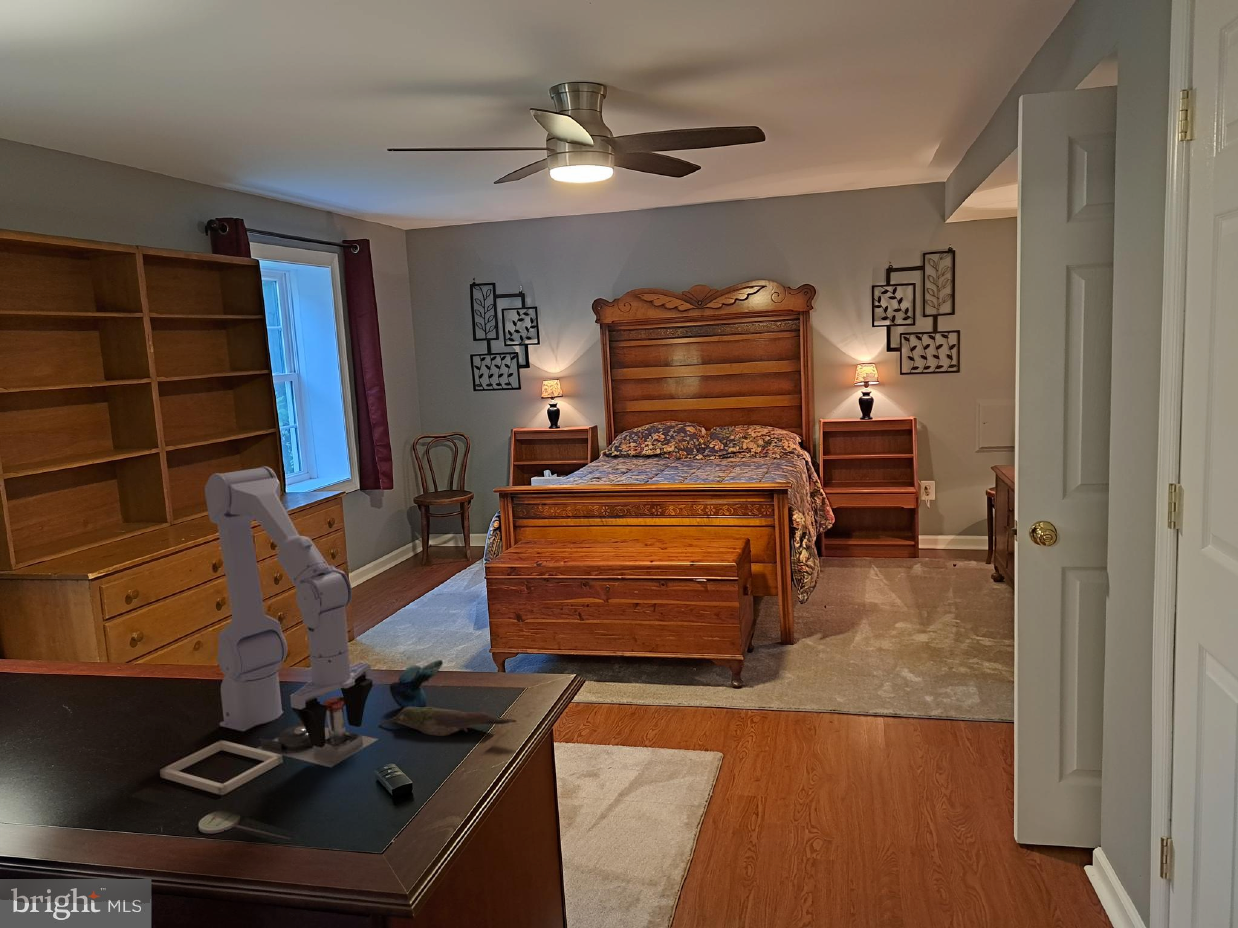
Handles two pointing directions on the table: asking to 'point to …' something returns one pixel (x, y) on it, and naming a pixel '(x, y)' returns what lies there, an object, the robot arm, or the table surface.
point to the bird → (443, 720)
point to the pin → (336, 720)
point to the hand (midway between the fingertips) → (337, 735)
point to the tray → (221, 789)
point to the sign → (225, 823)
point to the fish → (413, 685)
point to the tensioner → (300, 747)
